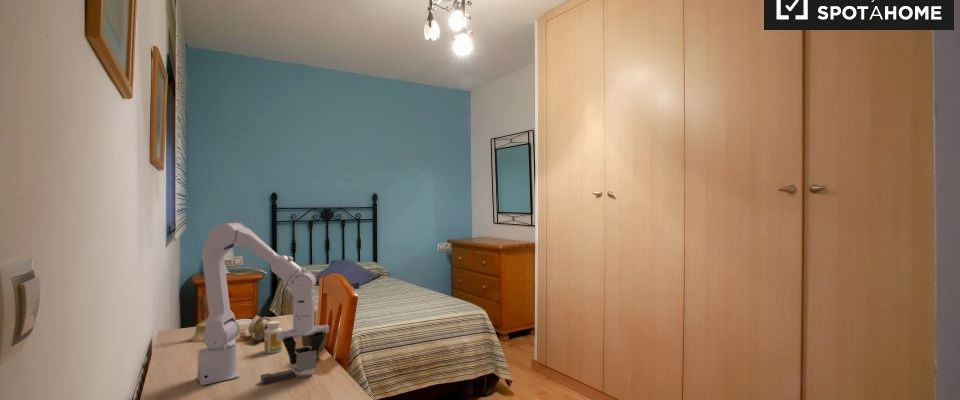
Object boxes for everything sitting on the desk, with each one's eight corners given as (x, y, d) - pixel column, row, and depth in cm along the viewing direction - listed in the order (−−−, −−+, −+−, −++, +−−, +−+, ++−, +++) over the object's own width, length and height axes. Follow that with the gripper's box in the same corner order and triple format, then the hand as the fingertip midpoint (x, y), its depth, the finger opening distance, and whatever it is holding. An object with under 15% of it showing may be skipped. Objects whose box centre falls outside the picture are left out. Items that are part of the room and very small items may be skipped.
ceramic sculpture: (270, 308, 177) (286, 318, 166) (270, 330, 178) (286, 341, 167) (241, 313, 170) (255, 323, 159) (240, 336, 170) (255, 348, 159)
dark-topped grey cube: (296, 372, 130) (296, 354, 130) (290, 366, 134) (290, 349, 134) (316, 367, 134) (316, 350, 134) (309, 362, 138) (309, 345, 138)
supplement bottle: (285, 348, 157) (285, 320, 157) (276, 354, 151) (276, 324, 151) (270, 348, 157) (270, 319, 157) (261, 353, 152) (261, 323, 152)
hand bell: (212, 341, 164) (212, 296, 164) (186, 342, 162) (186, 297, 162) (219, 334, 172) (220, 292, 172) (195, 336, 170) (195, 293, 170)
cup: (331, 357, 148) (331, 332, 148) (312, 364, 142) (312, 338, 142) (315, 353, 152) (315, 329, 152) (296, 360, 146) (296, 334, 146)
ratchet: (264, 386, 124) (264, 368, 124) (259, 380, 129) (259, 362, 129) (317, 374, 133) (317, 357, 133) (309, 368, 138) (310, 352, 138)
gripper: (281, 321, 126) (281, 370, 126) (333, 313, 135) (332, 359, 135) (274, 315, 132) (274, 363, 132) (324, 308, 141) (324, 353, 141)
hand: (303, 360), depth 134 cm, fingers closed on dark-topped grey cube, 6 cm apart
